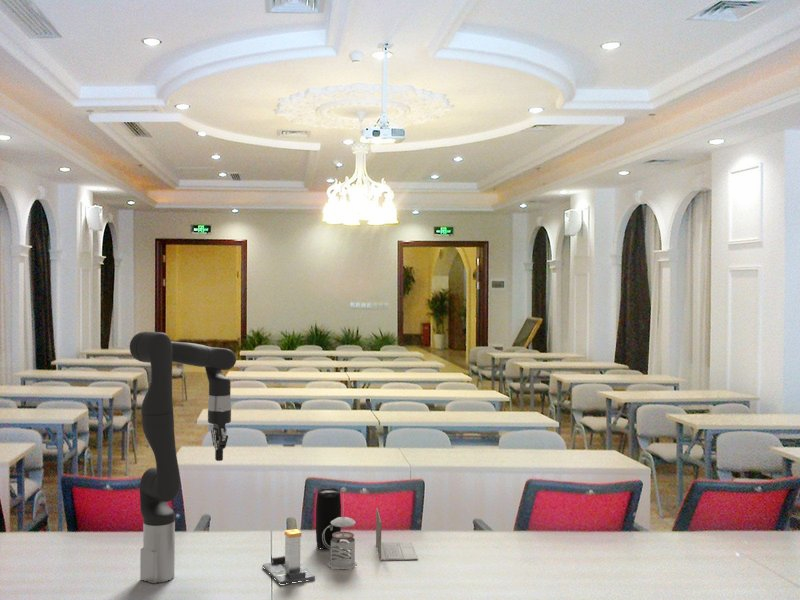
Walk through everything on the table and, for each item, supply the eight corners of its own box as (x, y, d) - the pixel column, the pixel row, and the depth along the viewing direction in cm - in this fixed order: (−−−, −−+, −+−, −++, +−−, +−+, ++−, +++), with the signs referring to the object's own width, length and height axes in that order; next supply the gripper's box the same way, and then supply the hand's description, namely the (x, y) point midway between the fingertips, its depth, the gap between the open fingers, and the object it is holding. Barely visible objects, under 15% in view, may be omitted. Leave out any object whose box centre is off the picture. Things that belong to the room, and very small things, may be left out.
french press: (353, 571, 262) (354, 492, 261) (317, 568, 264) (319, 489, 263) (361, 561, 271) (362, 484, 271) (326, 558, 274) (327, 482, 273)
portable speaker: (338, 541, 291) (339, 486, 290) (341, 550, 282) (342, 493, 281) (314, 542, 289) (315, 486, 289) (316, 551, 280) (317, 493, 279)
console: (314, 580, 254) (314, 571, 253) (280, 585, 248) (280, 576, 248) (295, 562, 269) (295, 554, 269) (262, 567, 264) (262, 559, 264)
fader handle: (301, 574, 254) (301, 532, 254) (288, 576, 252) (289, 534, 252) (296, 569, 258) (296, 528, 258) (283, 571, 256) (284, 530, 256)
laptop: (417, 561, 273) (418, 521, 272) (379, 561, 272) (380, 522, 271) (411, 543, 291) (411, 506, 290) (375, 544, 289) (376, 507, 289)
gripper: (203, 406, 281) (202, 457, 281) (213, 412, 269) (213, 465, 269) (225, 405, 284) (224, 455, 284) (236, 410, 272) (235, 463, 273)
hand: (219, 460), depth 277 cm, fingers closed
